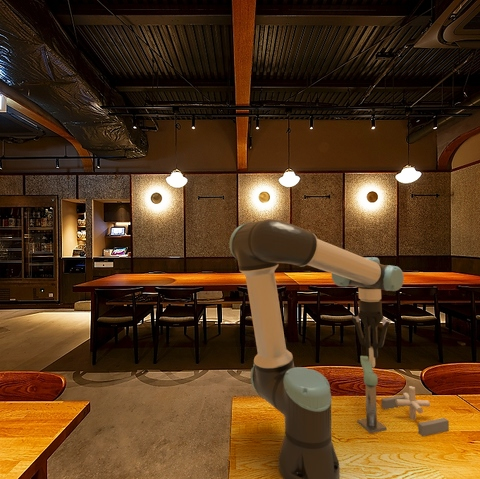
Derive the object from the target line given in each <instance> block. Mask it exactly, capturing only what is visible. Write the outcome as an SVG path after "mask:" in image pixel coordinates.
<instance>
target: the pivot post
mask: <svg viewBox="0 0 480 479" xmlns="http://www.w3.org/2000/svg"><path fill="white" fill-rule="evenodd" d="M365 410H366V411H365V413H366V414H365V415H366V416H365V418H360V419H357V420H356V421H357V424H358V425H359V426H361V427H362V428H364V430H365V431H366V432H368V433H369V434H375V433H379V432H385V431H387V427H386V426H385V425H384V424H383V423H382V422H380V421H379V420H377V419H378V417H377V415H378V414H377V412H378V411H377V385H375V386H371V385H367V384H365Z"/></svg>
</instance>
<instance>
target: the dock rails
mask: <svg viewBox="0 0 480 479" xmlns="http://www.w3.org/2000/svg"><path fill="white" fill-rule="evenodd" d="M396 399H405V398H404V397H403V396H400V395H396V396H390V397H384V398H380V400H381V403H380V404H381V409H383V410H390V409H389V408H391V409H394V407H396V408H399V407H398V406H402V405H396V402H395V400H396ZM402 407H403V406H402ZM449 422H450V421H449V420H448V419H447V418H445V417H442V418H437V419H433V420H427V421H423V422H418V423H417V428H418V429H417V430H418V433H417V434H419V435H421V437H426V436H429V435H430V436H431V435H435V434H439V433H443V432H449V429H450V425H449Z"/></svg>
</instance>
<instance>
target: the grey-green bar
mask: <svg viewBox="0 0 480 479" xmlns="http://www.w3.org/2000/svg"><path fill="white" fill-rule="evenodd" d="M359 357H360V364H361V367H362V371H363V384H365V385H366V384H367V385H371V386H375V385H376V386H377V385H378V374H376V373H375V372H374V370H373V367H371V364H370V362H369V357H368V356H366V355H360V356H359Z"/></svg>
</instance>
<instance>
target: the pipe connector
mask: <svg viewBox="0 0 480 479" xmlns="http://www.w3.org/2000/svg"><path fill="white" fill-rule="evenodd" d="M402 395H403V397H404V398H405V399H396V400H395V402H396V405H402V407H405V406H406V407H408V408H409V419H411V420H412V421H413V420H414V421H416V419H417V414H423V413H424V409H423V408H422V407H431V406H430V404H431V403H430V400H427V399H425V400H424V399H416V387H415V386H412V385H409V386H408V392H403V393H402Z"/></svg>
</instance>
